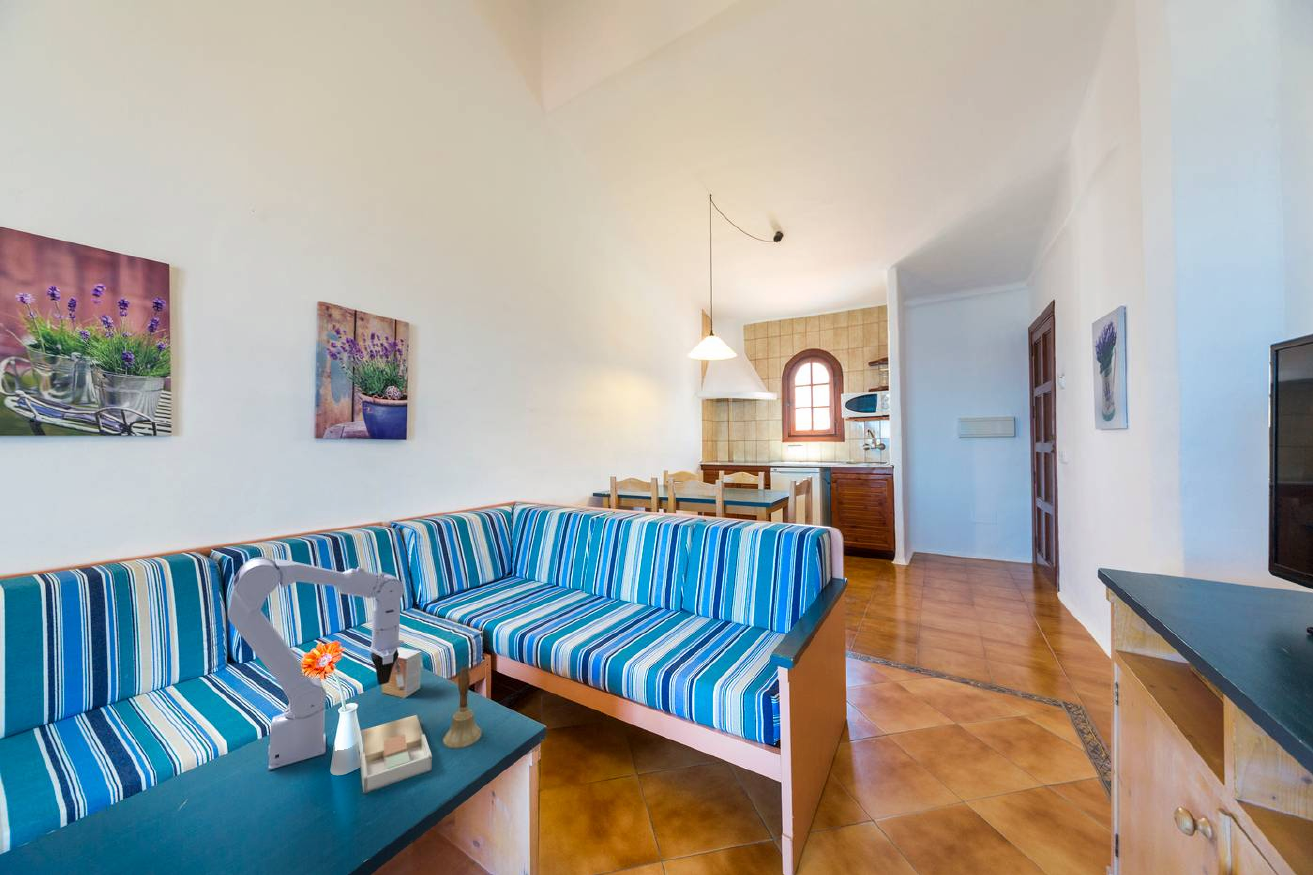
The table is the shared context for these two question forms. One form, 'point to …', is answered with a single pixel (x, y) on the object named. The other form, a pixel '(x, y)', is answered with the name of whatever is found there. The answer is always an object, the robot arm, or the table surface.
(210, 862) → the table surface
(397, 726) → the beech board
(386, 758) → the sage tile
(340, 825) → the table surface
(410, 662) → the small box
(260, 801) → the table surface
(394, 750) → the terracotta tile
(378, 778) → the tray
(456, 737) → the hand bell
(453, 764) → the table surface
